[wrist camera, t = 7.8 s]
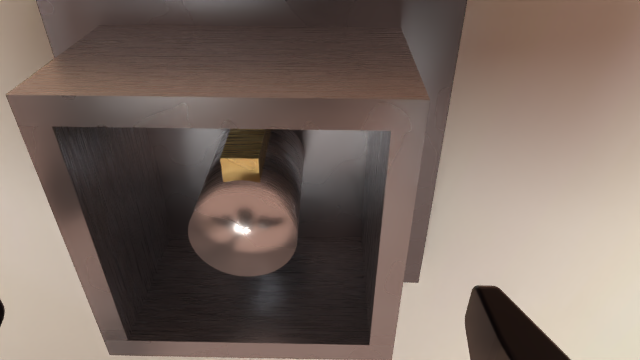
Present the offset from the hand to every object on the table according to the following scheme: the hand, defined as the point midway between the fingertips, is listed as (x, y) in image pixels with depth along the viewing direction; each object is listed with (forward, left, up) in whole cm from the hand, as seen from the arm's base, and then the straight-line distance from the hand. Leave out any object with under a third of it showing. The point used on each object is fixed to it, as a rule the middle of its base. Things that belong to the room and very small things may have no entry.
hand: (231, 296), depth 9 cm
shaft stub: (0, 0, -6) cm, 6 cm away
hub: (0, 0, -5) cm, 5 cm away
